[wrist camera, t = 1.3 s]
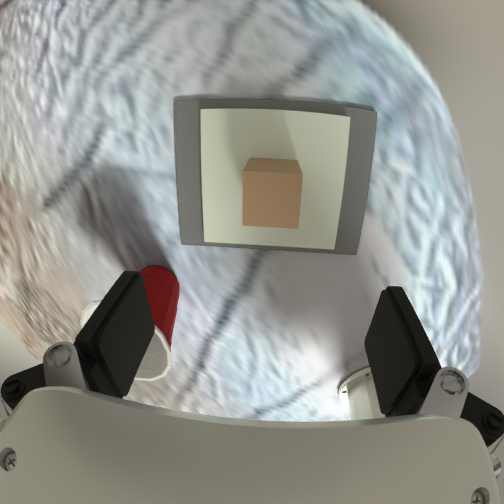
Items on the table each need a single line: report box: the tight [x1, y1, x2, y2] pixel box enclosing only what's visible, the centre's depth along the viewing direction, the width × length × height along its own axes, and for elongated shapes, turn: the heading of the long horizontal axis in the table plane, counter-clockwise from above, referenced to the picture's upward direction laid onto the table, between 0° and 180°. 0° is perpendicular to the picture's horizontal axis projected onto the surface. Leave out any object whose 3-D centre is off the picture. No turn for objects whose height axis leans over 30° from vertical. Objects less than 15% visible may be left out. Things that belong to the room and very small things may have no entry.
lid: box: [201, 109, 350, 250], centre depth 25 cm, size 14×14×7 cm
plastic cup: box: [80, 265, 179, 381], centre depth 31 cm, size 11×11×12 cm
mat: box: [174, 99, 377, 255], centre depth 28 cm, size 20×16×1 cm
